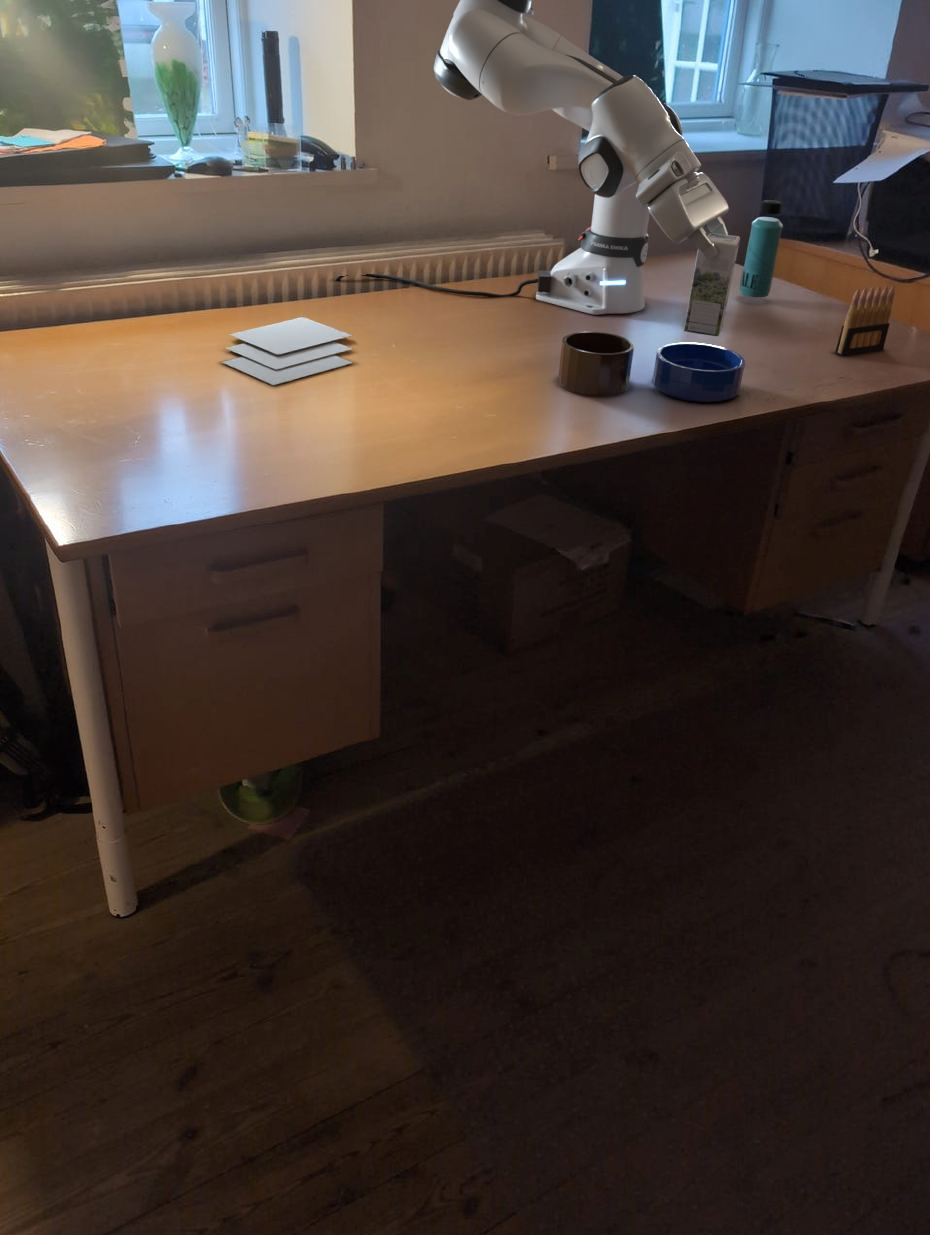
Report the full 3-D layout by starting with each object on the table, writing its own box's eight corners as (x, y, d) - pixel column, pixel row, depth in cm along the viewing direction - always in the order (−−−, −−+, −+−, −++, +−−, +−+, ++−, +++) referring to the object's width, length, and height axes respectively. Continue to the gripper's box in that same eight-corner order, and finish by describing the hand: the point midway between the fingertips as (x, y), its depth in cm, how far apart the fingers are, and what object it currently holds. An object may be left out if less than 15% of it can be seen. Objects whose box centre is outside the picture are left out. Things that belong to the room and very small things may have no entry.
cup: (547, 387, 165) (551, 345, 161) (574, 367, 174) (579, 327, 170) (613, 402, 160) (618, 359, 157) (638, 381, 169) (644, 340, 165)
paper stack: (388, 352, 175) (388, 348, 175) (273, 385, 159) (273, 381, 159) (303, 320, 188) (302, 316, 188) (188, 347, 172) (188, 343, 172)
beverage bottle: (770, 299, 216) (791, 200, 205) (764, 306, 211) (785, 205, 200) (740, 294, 218) (759, 196, 207) (733, 301, 213) (752, 201, 202)
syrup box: (723, 328, 164) (741, 235, 156) (718, 338, 159) (736, 242, 151) (688, 322, 165) (704, 230, 157) (682, 332, 160) (698, 237, 153)
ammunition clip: (841, 356, 186) (858, 290, 179) (834, 353, 187) (850, 287, 180) (883, 350, 190) (901, 285, 183) (875, 347, 191) (893, 282, 185)
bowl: (640, 392, 165) (644, 359, 162) (667, 368, 175) (672, 337, 172) (724, 411, 159) (731, 377, 156) (748, 385, 170) (754, 353, 167)
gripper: (675, 180, 163) (723, 252, 165) (631, 199, 148) (684, 278, 150) (707, 153, 159) (755, 227, 161) (665, 170, 144) (719, 252, 146)
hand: (721, 252), depth 155 cm, fingers closed on syrup box, 6 cm apart
